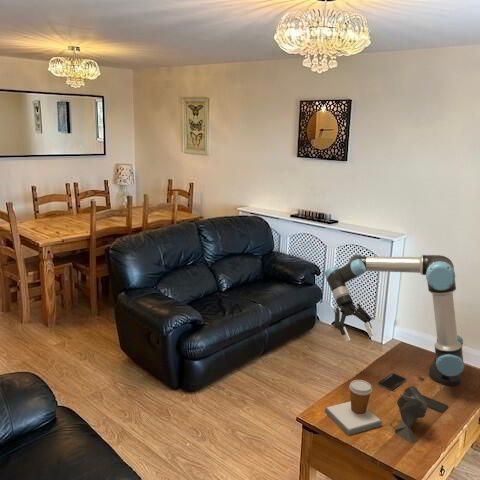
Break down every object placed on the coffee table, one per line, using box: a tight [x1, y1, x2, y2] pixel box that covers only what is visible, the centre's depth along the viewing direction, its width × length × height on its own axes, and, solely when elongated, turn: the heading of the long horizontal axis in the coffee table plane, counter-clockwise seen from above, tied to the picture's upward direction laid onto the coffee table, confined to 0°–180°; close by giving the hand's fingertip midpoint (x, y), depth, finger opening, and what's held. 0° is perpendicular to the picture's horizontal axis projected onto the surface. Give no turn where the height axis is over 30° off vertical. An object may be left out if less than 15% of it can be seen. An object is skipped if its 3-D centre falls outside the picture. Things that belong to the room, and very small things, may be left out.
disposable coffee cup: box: [348, 379, 373, 414], centre depth 203 cm, size 10×10×12 cm
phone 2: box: [377, 373, 407, 392], centre depth 231 cm, size 8×1×15 cm
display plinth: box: [324, 400, 383, 436], centre depth 202 cm, size 17×17×2 cm
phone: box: [421, 394, 449, 414], centre depth 215 cm, size 7×1×15 cm
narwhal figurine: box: [394, 385, 429, 444], centre depth 195 cm, size 14×15×18 cm
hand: (360, 338), depth 219 cm, fingers open, 13 cm apart
